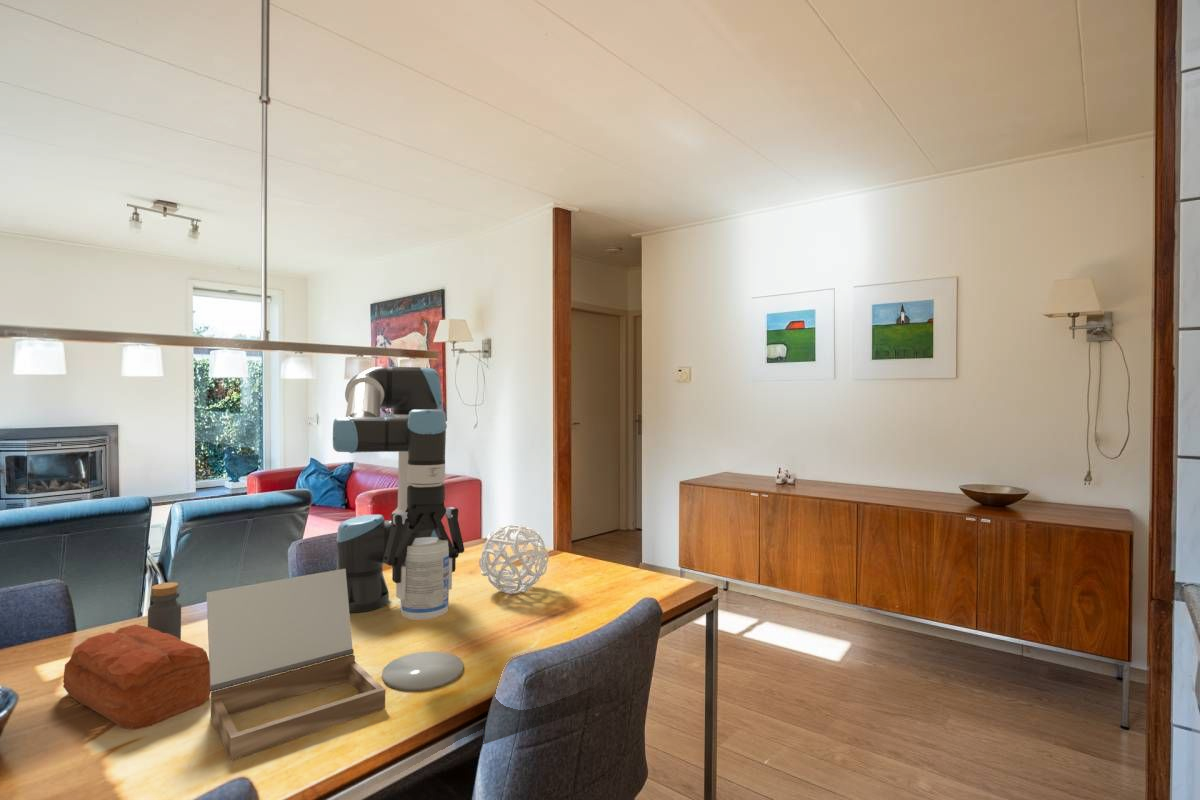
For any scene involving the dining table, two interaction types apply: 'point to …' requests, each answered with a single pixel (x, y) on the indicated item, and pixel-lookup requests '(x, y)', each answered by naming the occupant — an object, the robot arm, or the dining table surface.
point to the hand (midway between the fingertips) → (424, 592)
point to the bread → (138, 676)
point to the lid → (277, 627)
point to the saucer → (422, 671)
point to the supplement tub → (426, 579)
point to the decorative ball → (513, 558)
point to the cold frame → (287, 687)
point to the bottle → (165, 609)
